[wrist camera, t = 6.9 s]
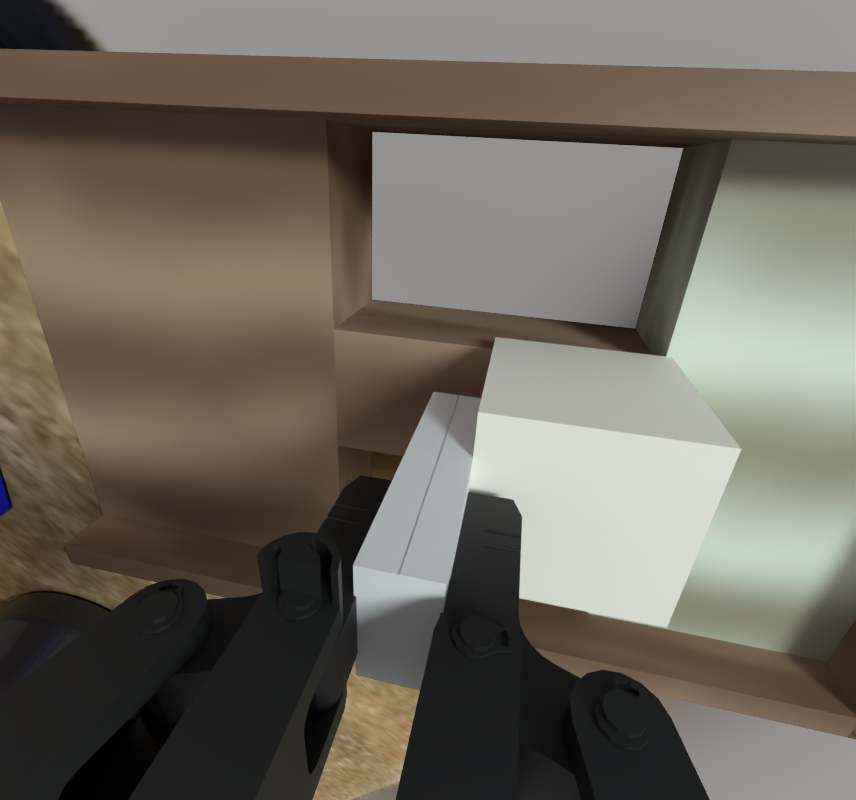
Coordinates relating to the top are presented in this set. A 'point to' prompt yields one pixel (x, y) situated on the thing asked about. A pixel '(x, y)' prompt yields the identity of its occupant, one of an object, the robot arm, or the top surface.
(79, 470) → the top surface
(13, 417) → the top surface
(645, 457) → the block
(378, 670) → the robot arm
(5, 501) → the puzzle cube
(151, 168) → the box
